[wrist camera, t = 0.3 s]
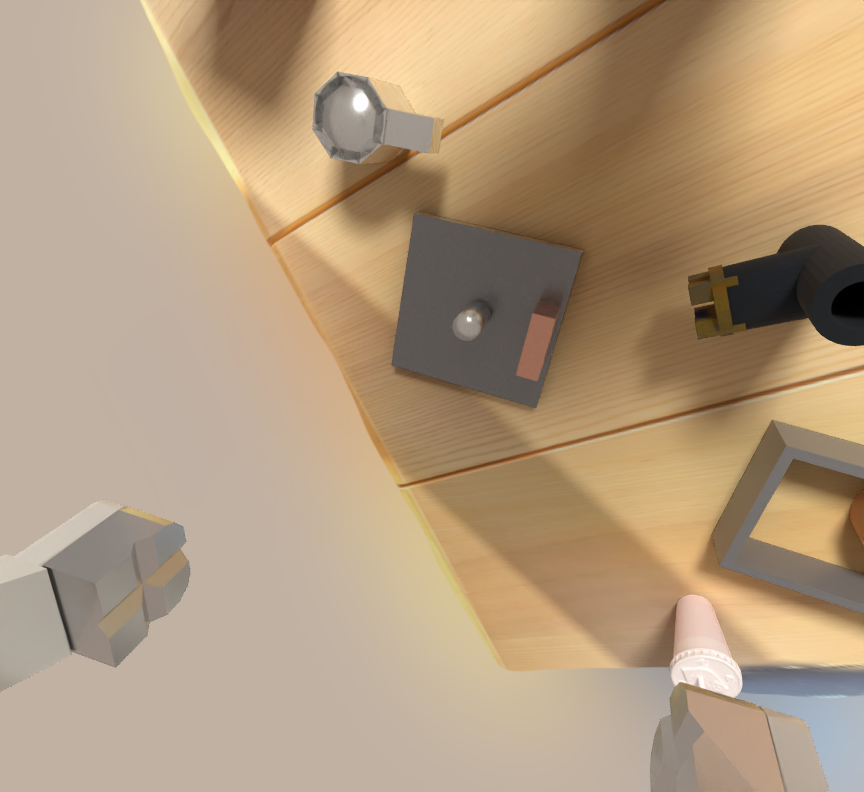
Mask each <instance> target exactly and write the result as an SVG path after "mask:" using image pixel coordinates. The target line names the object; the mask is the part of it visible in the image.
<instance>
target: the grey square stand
mask: <svg viewBox="0 0 864 792" xmlns="http://www.w3.org/2000/svg"><path fill="white" fill-rule="evenodd" d="M582 252H583V250H582V249H578V248H573V247H569V246H565V245H561V244H556V243H552V242H548V241H543V240H539V239H535V238H531V237H526V236H522V235H518V234H513V233H509V232H505V231H501V230H496V229H492V228H488V227H483V226H479V225H475V224H471V223H466V222H462V221H458V220H454V219H449V218H445V217H441V216H436V215H432V214H428V213H424V212H416V213H414V219H413V225H412V232H411V239H410V245H409V252H408V258H407V265H406V272H405V278H404V285H403V292H402V298H401V305H400V312H399V318H398V325H397V331H396V338H395V345H394V351H393V358H392V366H396V367H399V368H403V369H406V370H409V371H413V372H416V373H420V374H423V375H426V376H430V377H433V378H436V379H440V380H443V381H447V382H450V383H453V384H457V385H460V386H463V387H467V388H470V389H474V390H477V391H480V392H484V393H487V394H491V395H494V396H497V397H501V398H504V399H507V400H511V401H514V402H518V403H521V404H524V405H528V406H531V407H535V408H536V406H537V403H538V400H539V397H540V393H541V390H542V387H543V383H544V380H545V377H546V373H547V370H548V366H549V363H550V360H551V356H552V353H553V350H554V346H555V343H556V340H557V336H558V333H559V329H560V326H561V323H562V319H563V316H564V313H565V309H566V306H567V302H568V299H569V296H570V292H571V289H572V286H573V282H574V279H575V275H576V272H577V269H578V265H579V262H580V259H581V255H582Z"/></svg>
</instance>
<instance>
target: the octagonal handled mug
mask: <svg viewBox="0 0 864 792" xmlns="http://www.w3.org/2000/svg"><path fill="white" fill-rule="evenodd" d="M443 122H444V119H439V118H434V117H429V116H424V115H419V114H415V111H414V110H413V108H412V106H411V105H410V103H409V101H408V100H407V98H406V96H405V95H404V93H403V91H402V90H401V88H400V86H398V85H395V84H391V83H387V82H384V81H380V80H376V79H373V78H369V77H363V76H358V75H352V74H347V73H341V72H337V73H336V74H335V75H334V76H333V77H332V78H331V79H330V80H329V81H328V82H327V83H325V84H324V85H323V86H322V87H321V88H320V89H319V90H318V91H317V92H316V93H315V97H314V113H313V129H312V130H313V131H314V133H315V134H316V136H317V137H318V139H319V141H320V142H321V144H322V145H323V147H324V148H325V150H326V151H327V153H328V154H329V156H330V158H334V159H338V160H343V161H347V162H352V163H356V164H371V163H386V162H390V161H392V160H393V159H394V158H395V157H397V156H398V155H399V154H400V153H401V152H403V151H404V150H405V149H410V150H414V151H419V152H424V153H429V154H431V153H439V147H440V141H441V134H442V128H443Z"/></svg>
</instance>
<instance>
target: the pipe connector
mask: <svg viewBox="0 0 864 792" xmlns="http://www.w3.org/2000/svg"><path fill="white" fill-rule="evenodd" d="M708 269H709V272H705V273H701V274H696V275H692V276H688V281H689V284H688V289H689V295H690V300H691V305H692V306H693V305H698V304H702V303H707V302H712V301H714V304H712V305H707V306H702V307H698V308H694V311H695V325H696V330H697V336H698V339H702V338H707V337H713V336H718V335H720V336H726V335H731V334H734V332H739V331H745V330H747V329H752V328H757V327H763V326H768V325H773V324H779V323H784V322H789V321H795V320H800V319H805V318H809V319H810V321H811V322H812V324H813V325H814V327H815V329H816V330H817V331H818V332H819V333H820V334H821V335H822V336H823V337H825V338H826V339H828V340H830V341H832V342H834V343H837V344H841V345H847V346H861V345H864V246H862V245H861V244H859V243H858V242H856V241H855V240H853V239H852V238H850V237H849V236H847V235H845V234H844V233H842V232H841V231H839V230H838V229H836V228H834V227H831V226H826V225H813V226H808V227H805V228H802V229H800V230H798V231H796V232H795V233H793V234H792V235H791V236H789V237H788V238H787V239H786V240H785V241H784V243H783V244H782V246H781V247H780V250H779V252H778V254H774V255H770V256H766V257H762V258H757V259H753V260H749V261H745V262H741V263H737V264H732V265H728V266H724V267H722V265H719V266H715V267H711V268H708Z"/></svg>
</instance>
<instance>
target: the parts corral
mask: <svg viewBox="0 0 864 792" xmlns="http://www.w3.org/2000/svg"><path fill="white" fill-rule="evenodd" d="M793 459H796V460H800V461H803V462H807V463H810V464H814V465H817V466H821V467H824V468H828V469H831V470H835V471H838V472H841V473H845V474H848V475H852V476H855V477H859V478H862V479H864V445H861V444H858V443H854V442H850V441H847V440H843V439H839V438H836V437H832V436H829V435H825V434H821V433H818V432H814V431H810V430H807V429H803V428H800V427H796V426H792V425H789V424H785V423H782V422H778V421H774V420H772V422H771V424H770V425H769V427H768V429H767V431H766V433H765V435H764V437H763V439H762V441H761V442H760V444H759V446H758V448H757V450H756V452H755V454H754V456H753V458H752V459H751V461H750V463H749V465H748V467H747V469H746V471H745V473H744V475H743V476H742V478H741V480H740V482H739V484H738V486H737V488H736V490H735V492H734V493H733V495H732V497H731V499H730V501H729V503H728V505H727V507H726V508H725V510H724V512H723V514H722V516H721V518H720V520H719V522H718V524H717V525H716V527H715V529H714V531H713V533H712V537H713V541H714V546H715V550H716V554H717V559H718V563H719V566H721V567H724V568H727V569H730V570H733V571H736V572H739V573H742V574H745V575H748V576H751V577H754V578H757V579H760V580H763V581H766V582H769V583H772V584H775V585H778V586H781V587H784V588H787V589H790V590H793V591H796V592H799V593H802V594H805V595H808V596H811V597H814V598H817V599H820V600H823V601H826V602H829V603H832V604H835V605H838V606H841V607H844V608H847V609H850V610H854V611H857V612H860V613H863V614H864V574H862V573H859V572H856V571H853V570H849V569H846V568H843V567H840V566H837V565H834V564H831V563H827V562H824V561H821V560H818V559H815V558H812V557H809V556H805V555H802V554H799V553H796V552H793V551H790V550H787V549H783V548H780V547H777V546H774V545H771V544H768V543H765V542H761V541H758V540H755V539H752V538H749V536H750V534H751V532H752V530H753V529H754V527H755V525H756V523H757V522H758V520H759V518H760V516H761V515H762V513H763V511H764V509H765V508H766V506H767V504H768V502H769V501H770V499H771V497H772V495H773V494H774V492H775V490H776V488H777V487H778V485H779V483H780V481H781V480H782V478H783V476H784V474H785V473H786V471H787V469H788V467H789V466H790V464H791V462H792V460H793Z"/></svg>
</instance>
